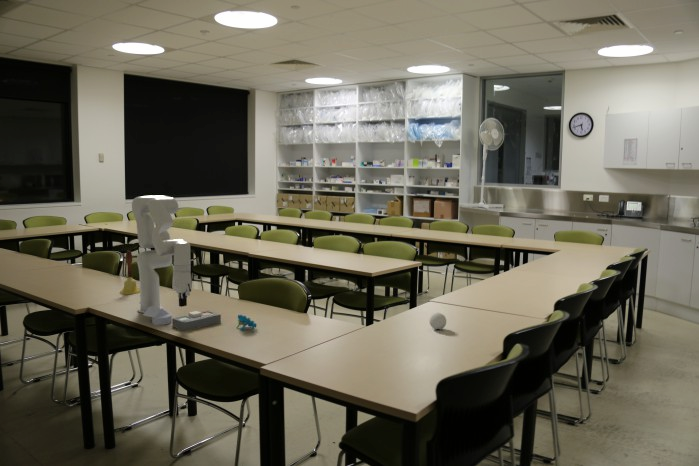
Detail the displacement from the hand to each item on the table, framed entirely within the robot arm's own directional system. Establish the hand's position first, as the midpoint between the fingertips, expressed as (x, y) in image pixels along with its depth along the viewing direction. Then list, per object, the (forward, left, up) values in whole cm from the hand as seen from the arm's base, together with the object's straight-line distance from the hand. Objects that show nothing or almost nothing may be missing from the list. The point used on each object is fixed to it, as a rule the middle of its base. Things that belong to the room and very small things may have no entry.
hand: (182, 305), depth 257 cm
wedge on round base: (-16, -4, -10) cm, 19 cm away
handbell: (-85, +15, -10) cm, 86 cm away
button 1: (0, 0, -9) cm, 9 cm away
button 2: (0, +6, -7) cm, 10 cm away
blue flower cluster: (+24, +18, -10) cm, 32 cm away
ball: (+89, +81, -10) cm, 121 cm away
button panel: (+2, +6, -10) cm, 12 cm away
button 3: (0, +12, -9) cm, 15 cm away
